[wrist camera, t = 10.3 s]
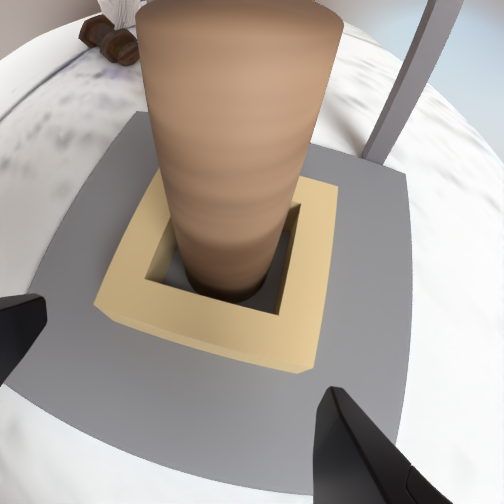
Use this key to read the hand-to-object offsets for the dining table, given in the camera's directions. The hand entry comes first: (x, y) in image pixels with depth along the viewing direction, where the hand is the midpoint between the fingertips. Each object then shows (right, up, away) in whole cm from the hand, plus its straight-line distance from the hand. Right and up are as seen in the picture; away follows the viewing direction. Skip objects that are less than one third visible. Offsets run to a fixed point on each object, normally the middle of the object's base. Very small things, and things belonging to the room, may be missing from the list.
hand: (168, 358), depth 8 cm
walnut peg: (+1, +2, +10) cm, 10 cm away
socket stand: (+2, +4, +12) cm, 13 cm away
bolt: (-17, +30, +24) cm, 42 cm away
